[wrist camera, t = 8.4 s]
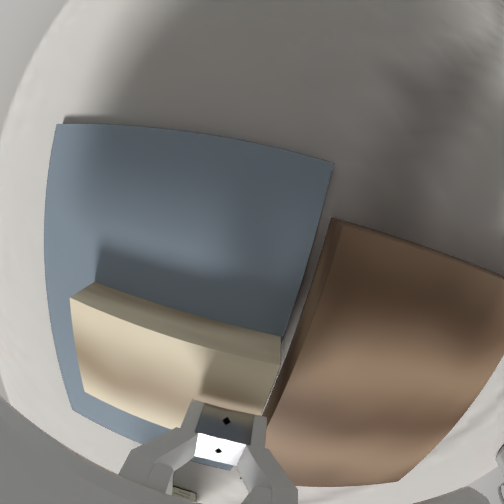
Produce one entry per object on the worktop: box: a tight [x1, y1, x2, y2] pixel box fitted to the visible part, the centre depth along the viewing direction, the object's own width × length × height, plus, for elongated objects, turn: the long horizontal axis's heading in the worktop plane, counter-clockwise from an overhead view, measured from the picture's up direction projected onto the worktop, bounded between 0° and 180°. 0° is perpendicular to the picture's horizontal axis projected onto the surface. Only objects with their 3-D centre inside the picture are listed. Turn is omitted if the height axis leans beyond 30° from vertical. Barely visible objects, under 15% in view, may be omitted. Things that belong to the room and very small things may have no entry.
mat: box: [44, 124, 334, 471], centre depth 12 cm, size 20×13×1 cm, turn 167°
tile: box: [70, 282, 281, 429], centre depth 11 cm, size 6×9×2 cm, turn 77°
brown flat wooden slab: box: [240, 218, 504, 487], centre depth 11 cm, size 16×12×2 cm
